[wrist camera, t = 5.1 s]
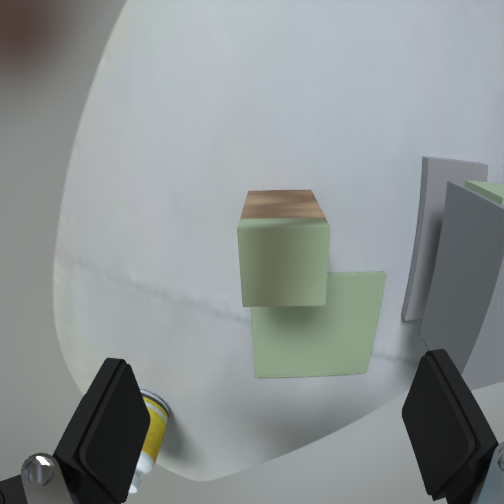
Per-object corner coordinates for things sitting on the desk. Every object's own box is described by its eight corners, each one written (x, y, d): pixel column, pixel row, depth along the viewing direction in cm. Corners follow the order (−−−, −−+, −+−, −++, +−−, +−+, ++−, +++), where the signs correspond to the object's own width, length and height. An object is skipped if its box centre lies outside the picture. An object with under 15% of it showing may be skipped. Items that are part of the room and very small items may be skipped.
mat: (383, 271, 25) (385, 274, 24) (365, 368, 29) (366, 372, 29) (249, 275, 26) (249, 278, 25) (255, 373, 30) (255, 377, 29)
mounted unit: (481, 163, 20) (574, 201, 10) (454, 309, 26) (508, 387, 16) (423, 156, 21) (515, 193, 11) (401, 314, 26) (446, 404, 16)
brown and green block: (311, 189, 23) (329, 227, 15) (310, 247, 24) (325, 305, 17) (248, 191, 23) (237, 228, 16) (251, 248, 25) (242, 307, 17)
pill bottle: (151, 382, 32) (119, 469, 21) (180, 417, 34) (159, 499, 24) (109, 388, 33) (73, 464, 23) (138, 421, 35) (112, 493, 25)
